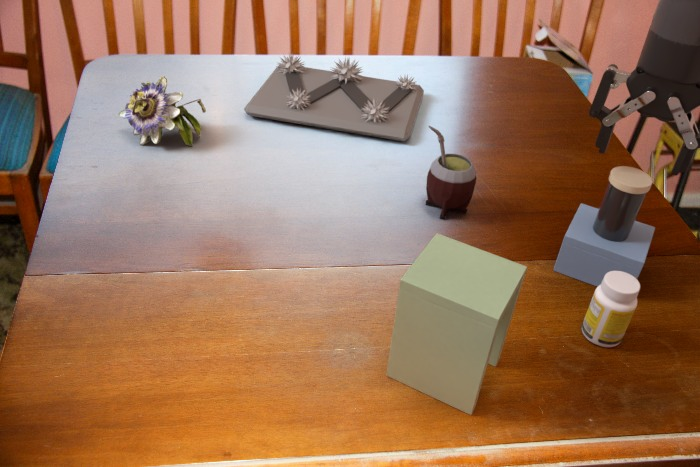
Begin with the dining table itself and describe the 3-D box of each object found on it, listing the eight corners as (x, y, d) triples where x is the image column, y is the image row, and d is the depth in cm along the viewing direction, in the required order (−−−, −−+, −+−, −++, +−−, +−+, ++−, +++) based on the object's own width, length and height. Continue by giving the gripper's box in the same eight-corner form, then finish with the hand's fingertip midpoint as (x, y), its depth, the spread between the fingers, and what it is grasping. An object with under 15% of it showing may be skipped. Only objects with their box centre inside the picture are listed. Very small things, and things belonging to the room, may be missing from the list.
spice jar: (633, 227, 87) (655, 173, 82) (626, 247, 83) (649, 192, 78) (595, 215, 88) (614, 161, 83) (587, 234, 85) (607, 179, 80)
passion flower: (149, 171, 111) (100, 114, 105) (185, 134, 117) (140, 79, 112) (188, 156, 103) (137, 94, 98) (224, 117, 110) (178, 57, 105)
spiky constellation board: (242, 119, 116) (240, 81, 112) (278, 72, 133) (278, 38, 129) (408, 146, 112) (413, 108, 108) (423, 95, 129) (428, 60, 125)
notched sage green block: (499, 360, 74) (527, 266, 66) (471, 415, 68) (498, 319, 59) (419, 326, 78) (436, 232, 69) (385, 375, 71) (400, 279, 63)
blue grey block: (640, 261, 91) (655, 227, 87) (628, 298, 84) (644, 263, 81) (569, 237, 94) (580, 202, 91) (552, 270, 88) (564, 235, 84)
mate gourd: (472, 201, 100) (492, 112, 91) (464, 229, 94) (483, 137, 85) (425, 190, 102) (439, 102, 93) (413, 217, 96) (428, 126, 87)
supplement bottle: (627, 334, 79) (651, 282, 74) (611, 355, 76) (635, 302, 71) (590, 314, 82) (611, 262, 76) (573, 333, 79) (594, 281, 74)
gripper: (613, 25, 70) (572, 157, 79) (759, 57, 64) (696, 194, 74) (626, 7, 75) (586, 133, 85) (762, 35, 70) (703, 166, 80)
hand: (638, 161), depth 79 cm, fingers open, 8 cm apart
